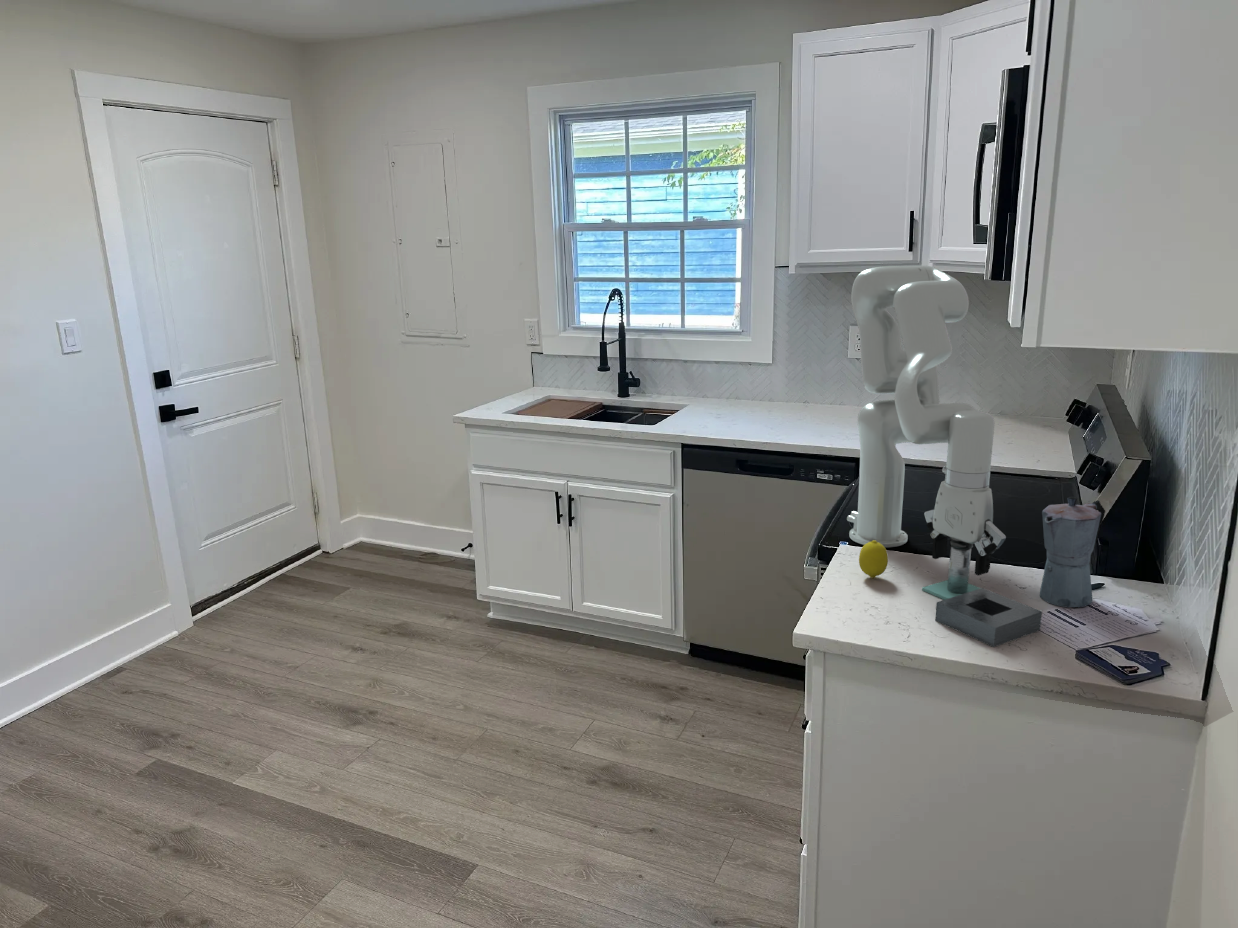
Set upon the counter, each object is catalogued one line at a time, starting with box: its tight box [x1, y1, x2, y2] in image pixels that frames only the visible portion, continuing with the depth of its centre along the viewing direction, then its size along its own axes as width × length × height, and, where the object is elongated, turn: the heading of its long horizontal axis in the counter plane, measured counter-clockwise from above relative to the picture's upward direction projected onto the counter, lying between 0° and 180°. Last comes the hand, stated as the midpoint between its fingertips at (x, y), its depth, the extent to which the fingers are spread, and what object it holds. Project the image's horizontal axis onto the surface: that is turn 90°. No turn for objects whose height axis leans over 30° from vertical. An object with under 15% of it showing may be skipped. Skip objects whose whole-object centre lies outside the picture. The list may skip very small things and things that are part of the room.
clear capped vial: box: [947, 537, 974, 594], centre depth 159 cm, size 4×4×10 cm
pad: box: [921, 579, 981, 600], centre depth 161 cm, size 9×9×1 cm
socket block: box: [934, 587, 1043, 648], centre depth 147 cm, size 12×12×4 cm
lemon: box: [858, 540, 889, 579], centre depth 168 cm, size 6×6×8 cm
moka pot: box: [1039, 496, 1106, 608], centre depth 155 cm, size 10×15×20 cm, turn 119°
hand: (959, 565), depth 159 cm, fingers open, 9 cm apart
